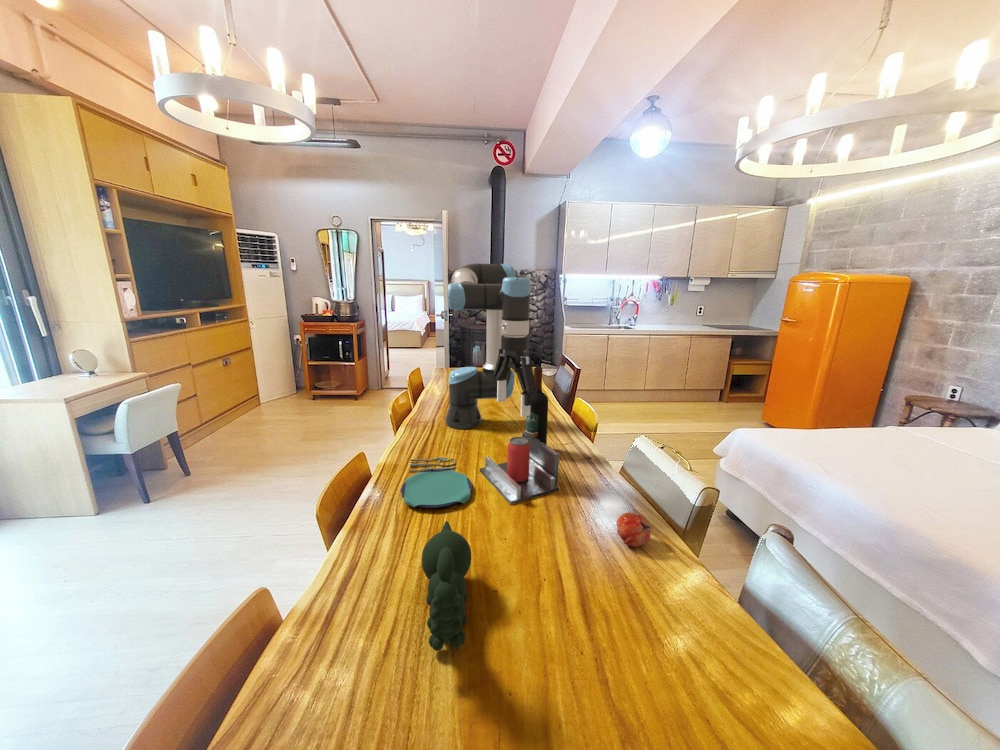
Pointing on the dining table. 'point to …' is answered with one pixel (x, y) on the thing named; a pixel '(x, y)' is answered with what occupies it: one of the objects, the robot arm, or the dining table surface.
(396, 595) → the dining table surface
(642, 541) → the pomegranate
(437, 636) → the toy figurine
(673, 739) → the dining table surface
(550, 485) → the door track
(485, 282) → the robot arm
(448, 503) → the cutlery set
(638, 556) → the dining table surface
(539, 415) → the wine bottle
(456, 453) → the dining table surface
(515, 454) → the beer can
